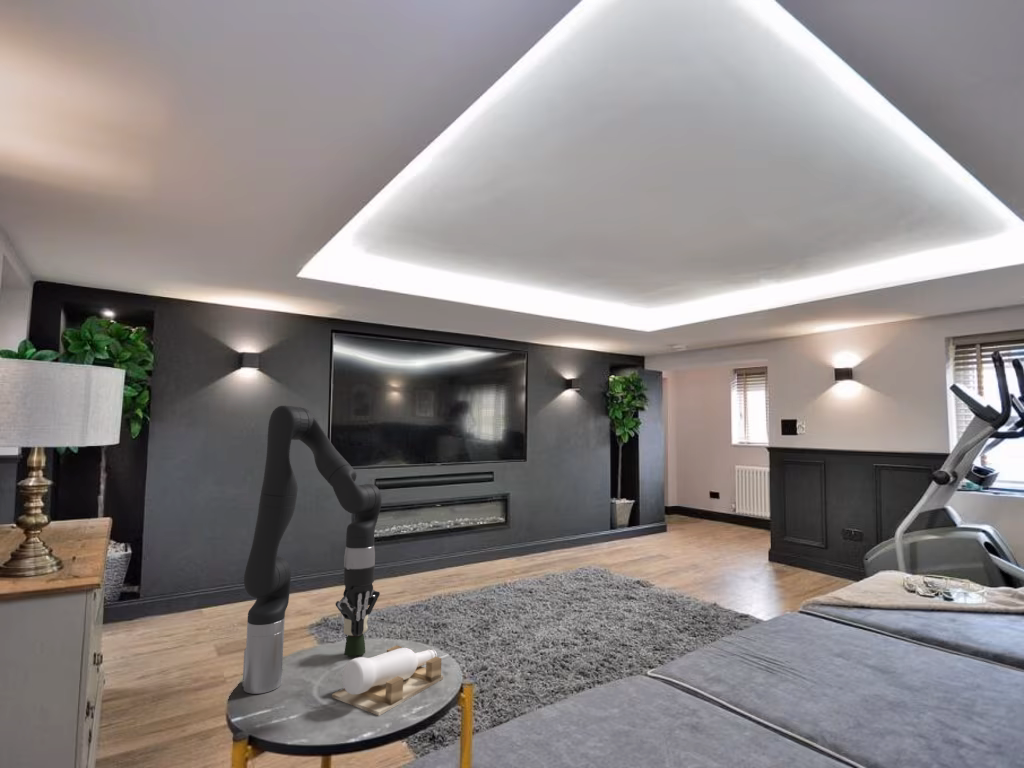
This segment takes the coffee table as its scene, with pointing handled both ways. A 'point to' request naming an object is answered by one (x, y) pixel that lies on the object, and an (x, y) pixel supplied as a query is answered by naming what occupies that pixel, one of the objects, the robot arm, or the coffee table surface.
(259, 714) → the coffee table surface
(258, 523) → the robot arm
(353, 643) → the character mug
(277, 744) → the coffee table surface
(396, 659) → the bottle
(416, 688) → the bottle cradle
